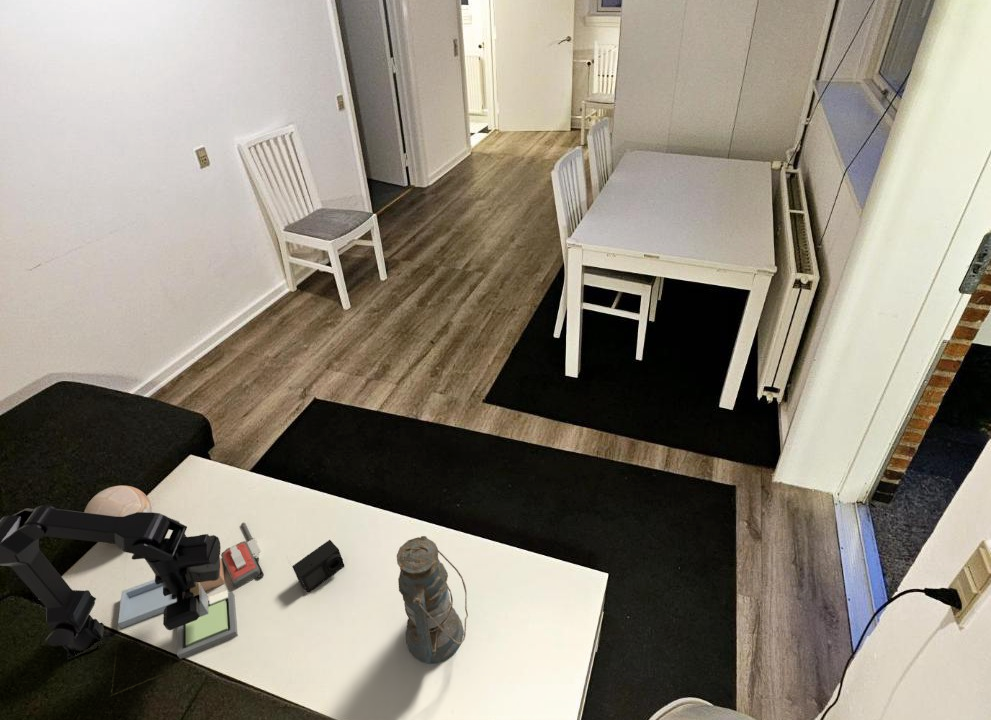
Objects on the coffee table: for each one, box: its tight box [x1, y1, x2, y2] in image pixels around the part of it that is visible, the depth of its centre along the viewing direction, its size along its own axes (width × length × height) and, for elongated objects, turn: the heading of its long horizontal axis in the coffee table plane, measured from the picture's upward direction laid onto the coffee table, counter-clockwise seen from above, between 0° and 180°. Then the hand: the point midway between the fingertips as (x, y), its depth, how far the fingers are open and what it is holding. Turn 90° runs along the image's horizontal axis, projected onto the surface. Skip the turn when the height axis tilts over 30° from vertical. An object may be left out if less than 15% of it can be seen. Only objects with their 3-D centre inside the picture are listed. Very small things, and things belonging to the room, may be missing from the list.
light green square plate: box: [185, 600, 229, 647], centre depth 129 cm, size 9×8×1 cm
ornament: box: [84, 485, 153, 546], centre depth 149 cm, size 15×15×15 cm
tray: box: [117, 578, 176, 629], centre depth 135 cm, size 13×9×2 cm
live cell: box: [176, 582, 209, 617], centre depth 124 cm, size 4×4×6 cm
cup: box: [199, 558, 226, 592], centre depth 138 cm, size 6×6×5 cm
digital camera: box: [292, 539, 345, 594], centre depth 137 cm, size 10×5×7 cm, turn 135°
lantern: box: [396, 535, 469, 664], centre depth 117 cm, size 19×14×30 cm
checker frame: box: [176, 589, 239, 660], centre depth 129 cm, size 12×12×3 cm
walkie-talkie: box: [220, 522, 265, 588], centre depth 144 cm, size 9×4×20 cm
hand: (195, 606), depth 125 cm, fingers closed on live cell, 4 cm apart
